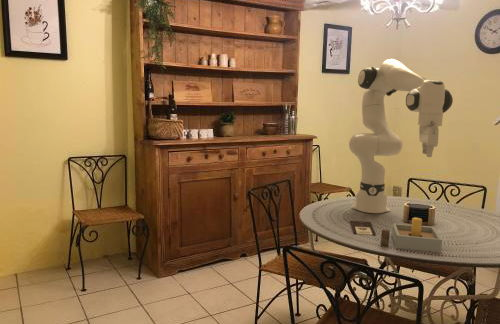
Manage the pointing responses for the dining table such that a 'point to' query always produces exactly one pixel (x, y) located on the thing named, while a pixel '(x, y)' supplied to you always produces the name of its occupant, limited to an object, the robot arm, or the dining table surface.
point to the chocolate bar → (362, 228)
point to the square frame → (416, 238)
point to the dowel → (416, 227)
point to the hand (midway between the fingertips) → (426, 155)
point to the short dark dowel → (385, 237)
